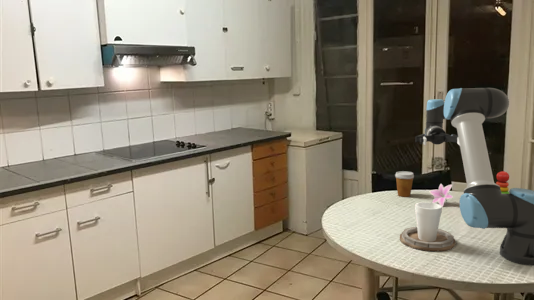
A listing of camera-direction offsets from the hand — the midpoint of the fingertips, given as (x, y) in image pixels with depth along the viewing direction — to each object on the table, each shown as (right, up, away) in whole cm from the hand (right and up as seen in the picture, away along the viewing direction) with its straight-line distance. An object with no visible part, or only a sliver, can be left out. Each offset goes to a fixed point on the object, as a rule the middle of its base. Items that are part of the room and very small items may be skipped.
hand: (443, 142), depth 177 cm
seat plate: (-11, -38, -12) cm, 41 cm away
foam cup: (-11, -37, -12) cm, 40 cm away
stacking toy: (+34, -31, +20) cm, 51 cm away
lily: (+13, -30, +35) cm, 47 cm away
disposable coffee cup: (0, -27, +50) cm, 57 cm away
